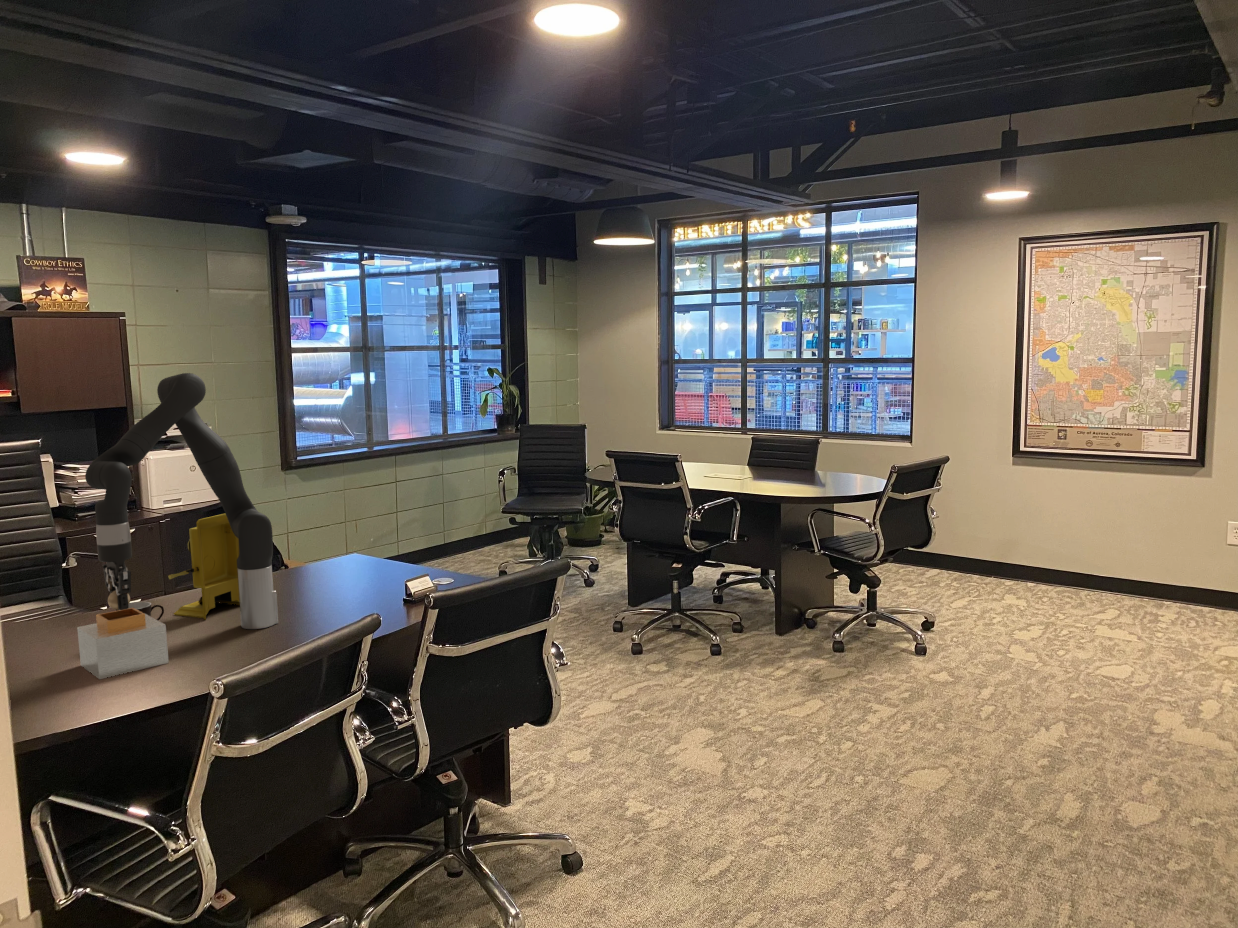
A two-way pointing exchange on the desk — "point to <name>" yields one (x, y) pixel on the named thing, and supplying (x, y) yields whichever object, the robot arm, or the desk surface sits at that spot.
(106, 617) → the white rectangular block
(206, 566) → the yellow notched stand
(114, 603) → the wooden ball
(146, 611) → the coffee mug
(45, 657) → the desk surface
